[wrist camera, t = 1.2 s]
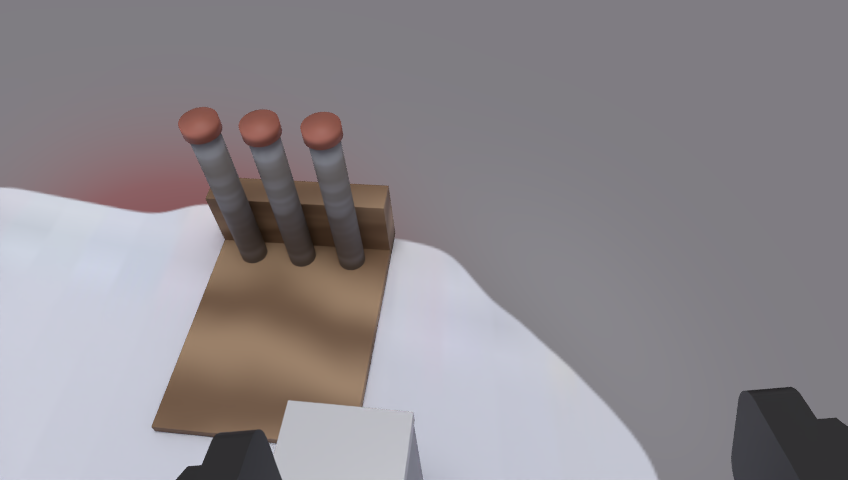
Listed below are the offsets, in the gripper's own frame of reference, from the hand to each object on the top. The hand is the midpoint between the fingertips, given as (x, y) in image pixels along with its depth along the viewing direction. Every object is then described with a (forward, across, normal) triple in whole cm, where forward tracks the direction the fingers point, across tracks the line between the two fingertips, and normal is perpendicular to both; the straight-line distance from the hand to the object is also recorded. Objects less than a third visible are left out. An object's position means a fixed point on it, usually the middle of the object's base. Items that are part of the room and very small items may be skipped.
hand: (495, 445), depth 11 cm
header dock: (+25, +14, +16) cm, 33 cm away
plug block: (+13, +7, +21) cm, 26 cm away
